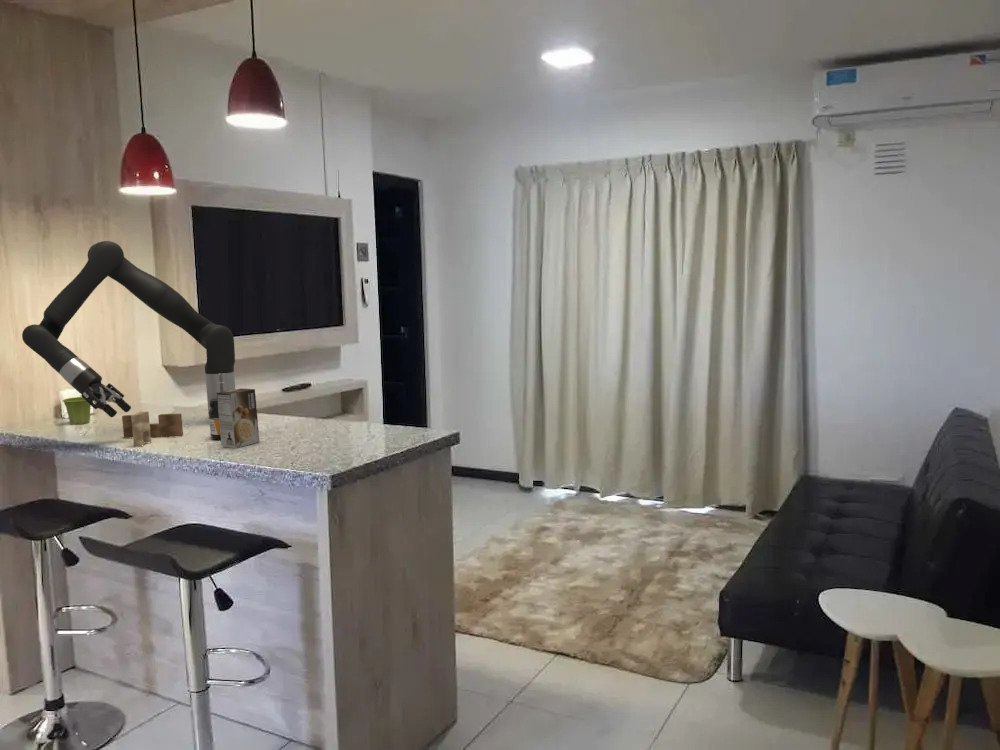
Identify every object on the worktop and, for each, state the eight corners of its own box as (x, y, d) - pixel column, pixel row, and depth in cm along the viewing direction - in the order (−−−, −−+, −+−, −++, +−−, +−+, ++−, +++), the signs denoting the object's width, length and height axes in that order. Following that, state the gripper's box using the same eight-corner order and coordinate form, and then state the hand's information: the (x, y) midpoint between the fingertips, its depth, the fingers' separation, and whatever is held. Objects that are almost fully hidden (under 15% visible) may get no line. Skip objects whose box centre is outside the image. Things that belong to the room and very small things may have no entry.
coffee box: (245, 440, 245) (241, 387, 243) (260, 442, 242) (256, 388, 240) (220, 446, 237) (216, 392, 235) (235, 448, 234) (230, 393, 232)
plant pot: (100, 421, 288) (98, 397, 287) (74, 426, 280) (72, 401, 279) (85, 419, 293) (83, 396, 292) (59, 424, 285) (56, 400, 284)
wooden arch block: (134, 446, 242) (131, 415, 240) (143, 442, 248) (140, 411, 246) (142, 446, 242) (139, 415, 240) (151, 442, 248) (148, 411, 246)
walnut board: (124, 438, 256) (121, 416, 255) (127, 436, 258) (125, 415, 257) (180, 436, 255) (178, 414, 254) (183, 435, 257) (181, 413, 256)
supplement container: (205, 441, 246) (202, 402, 244) (216, 434, 256) (213, 396, 255) (240, 440, 246) (237, 400, 245) (250, 433, 257) (247, 395, 255)
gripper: (75, 369, 235) (117, 407, 236) (101, 364, 249) (141, 399, 250) (59, 388, 236) (101, 426, 237) (85, 381, 250) (126, 417, 251)
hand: (122, 412), depth 244 cm, fingers open, 8 cm apart
